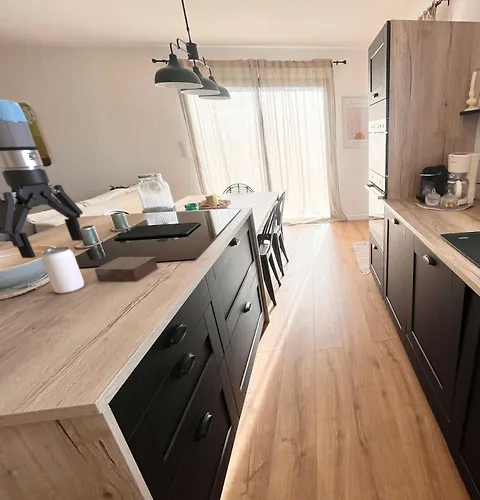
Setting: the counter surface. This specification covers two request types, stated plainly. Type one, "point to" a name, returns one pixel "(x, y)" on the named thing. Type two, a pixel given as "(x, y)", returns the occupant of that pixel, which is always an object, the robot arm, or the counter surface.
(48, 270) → the can
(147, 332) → the counter surface
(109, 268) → the walnut block
